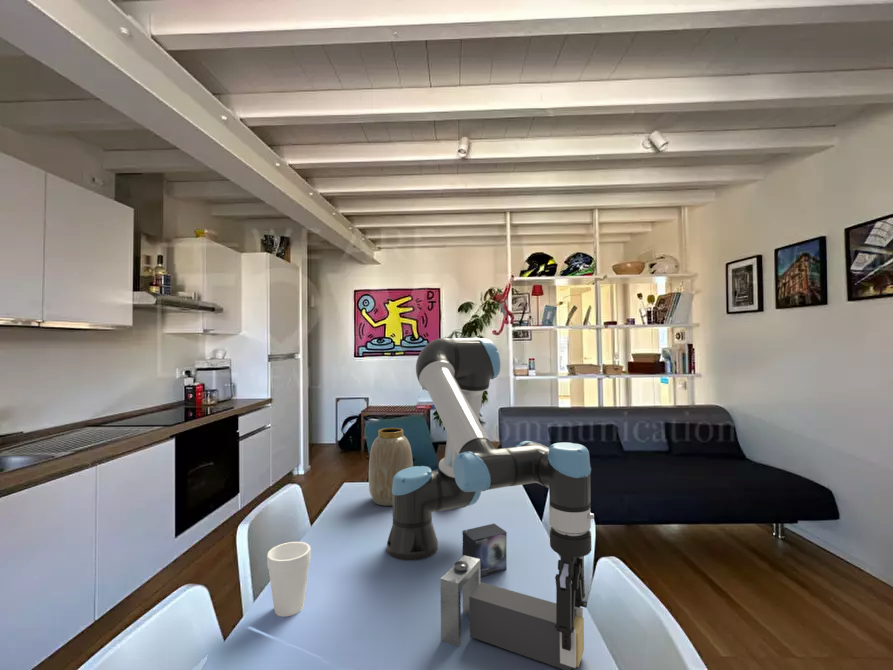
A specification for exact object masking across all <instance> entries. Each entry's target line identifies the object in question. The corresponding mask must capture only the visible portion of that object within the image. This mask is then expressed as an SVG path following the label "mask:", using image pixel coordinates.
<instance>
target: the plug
mask: <svg viewBox="0 0 893 670" xmlns="http://www.w3.org/2000/svg"><path fill="white" fill-rule="evenodd" d="M469 604H470V615H469V637H470V638H473V639H476V640H480V641H481V642H484V643H488V644H490V645H493V646H496V647H498V648H501V649H504V650H507V651H510V652H512V653H515V654H518V655H522V656H524V657H526V658H530V659H534V660H535V661H539V662H540V663H544V664H546V665H549V666H551V667H552V666H553V667H556V668H558V669H561V670H571V669H572V667H570V666H567V665H564V664H561V663H560V632H558V631H556V628H555V624H556V602H554V601H553V602H552V601H549V600H546V599H542V598H538V597H536V596H532V595H528V594H525V593H521V592H517V591H513V590H510V589H506V588H503V587H500V586H497V585H493V584H489V583H485V582H483V581H482V582H481V583H480V585H479V586H478V587H477V588H476V589H475V591H474V592H473V593H472V594H471V595H470V597H469ZM584 619H585V618H584V617H583V618H582V617H578V616H576V609H575V613H574V628H575V629H576V667H575V668H579V666H580V663H581V661H582V657H583V654H584V652H585V625H584V623H585V620H584Z"/></svg>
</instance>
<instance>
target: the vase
mask: <svg viewBox="0 0 893 670" xmlns="http://www.w3.org/2000/svg"><path fill="white" fill-rule="evenodd" d="M377 432H378V433H377V434H378V436H377V437H376V438H375V439H374V440H373V442H372V444H371V447H370V453H369V460H368V461H369V462H368V491H369V495H370V498H372V501H373V502H374V503H375V504H376V505H380V506H385V507H386V506H388V507H389V506H392V507H393V497H392V486H393V478H394V476H395V474H397V473H398V472H399V471H401V470H403V469H406V468H409V467H414V462H413V461H414V460H413V452H412V447H411V444H410V442H409V439H408V438H407V436H405V435H404V429H403V428H400V427H399V428H398V427H385V428H381V429H378V430H377Z"/></svg>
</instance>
